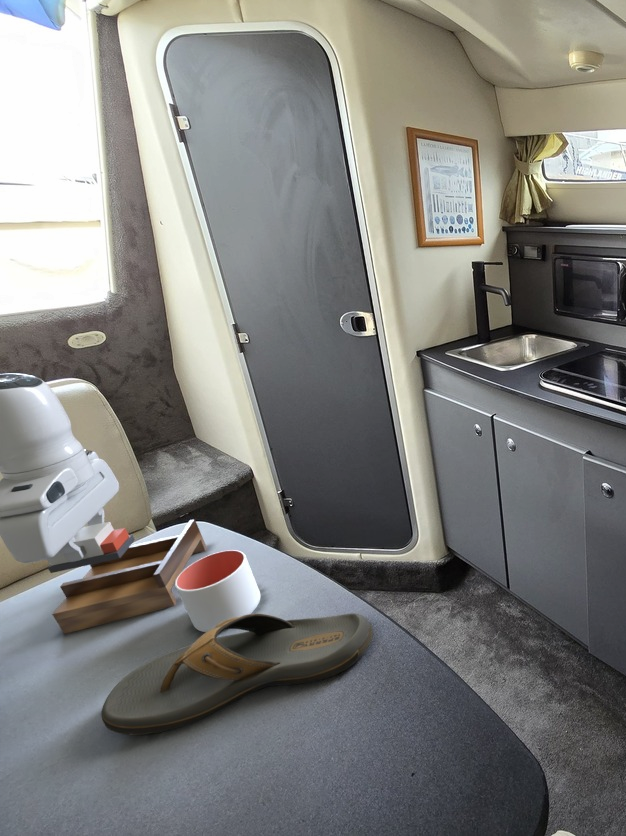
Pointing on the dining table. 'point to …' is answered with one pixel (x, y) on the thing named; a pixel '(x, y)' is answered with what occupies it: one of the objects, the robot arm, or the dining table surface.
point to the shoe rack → (129, 582)
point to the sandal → (233, 669)
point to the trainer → (95, 546)
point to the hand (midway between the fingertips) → (89, 546)
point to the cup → (218, 589)
